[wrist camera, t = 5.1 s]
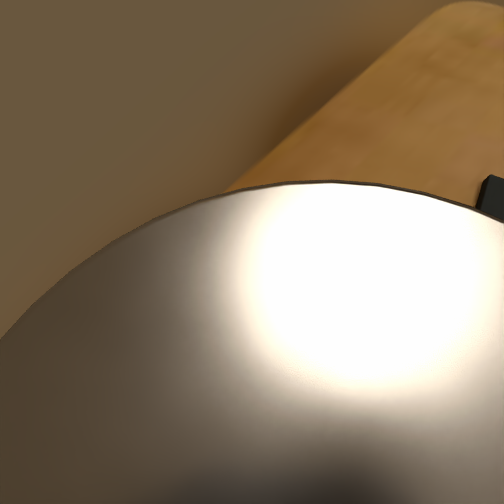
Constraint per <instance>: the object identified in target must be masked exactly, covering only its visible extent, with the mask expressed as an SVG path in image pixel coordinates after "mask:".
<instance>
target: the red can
mask: <svg viewBox="0 0 504 504" xmlns="http://www.w3.org/2000/svg"><path fill="white" fill-rule="evenodd" d="M0 504H504V220H502V219H500V218H498V217H495V216H493V215H491V214H488V213H486V212H483V211H481V210H479V209H476V208H474V207H472V206H469V205H466V204H462V203H459V202H456V201H452V200H449V199H446V198H442V197H439V196H436V195H433V194H429V193H426V192H422V191H417V190H411V189H406V188H401V187H395V186H390V185H385V184H380V183H369V182H356V181H343V180H310V181H286V182H280V183H273V184H267V185H260V186H254V187H247V188H241V189H238V190H234V191H231V192H227V193H223V194H220V195H216V196H213V197H209V198H205V199H202V200H198V201H196V202H193V203H191V204H188V205H186V206H183V207H181V208H178V209H176V210H173V211H171V212H169V213H166V214H164V215H161V216H159V217H156V218H154V219H152V220H151V221H149V222H147V223H145V224H143V225H141V226H139V227H138V228H136V229H134V230H132V231H131V232H128V233H127V234H125V235H123V236H121V237H119V238H118V239H116V240H114V241H112V242H111V243H110V244H108V245H107V246H105V247H104V248H102V249H101V250H100V251H98V252H96V253H95V254H94V255H92V256H91V257H90V258H88V259H87V260H85V261H84V262H82V263H81V264H80V265H78V266H77V267H75V268H74V269H72V270H71V271H70V272H69V273H68V274H67V275H65V276H64V277H63V278H62V279H61V280H60V281H59V282H57V284H55V285H54V286H53V287H52V288H51V289H49V290H48V291H47V292H46V293H45V294H44V295H43V296H42V297H40V298H39V299H38V300H37V301H36V302H35V303H34V304H32V305H31V307H30V308H29V309H28V310H27V311H26V312H25V313H24V314H23V315H22V316H21V317H20V318H19V320H18V321H17V322H16V323H15V324H14V325H13V326H12V327H11V328H10V329H9V330H8V332H7V333H6V334H5V335H4V336H3V337H2V338H1V339H0Z"/></svg>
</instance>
